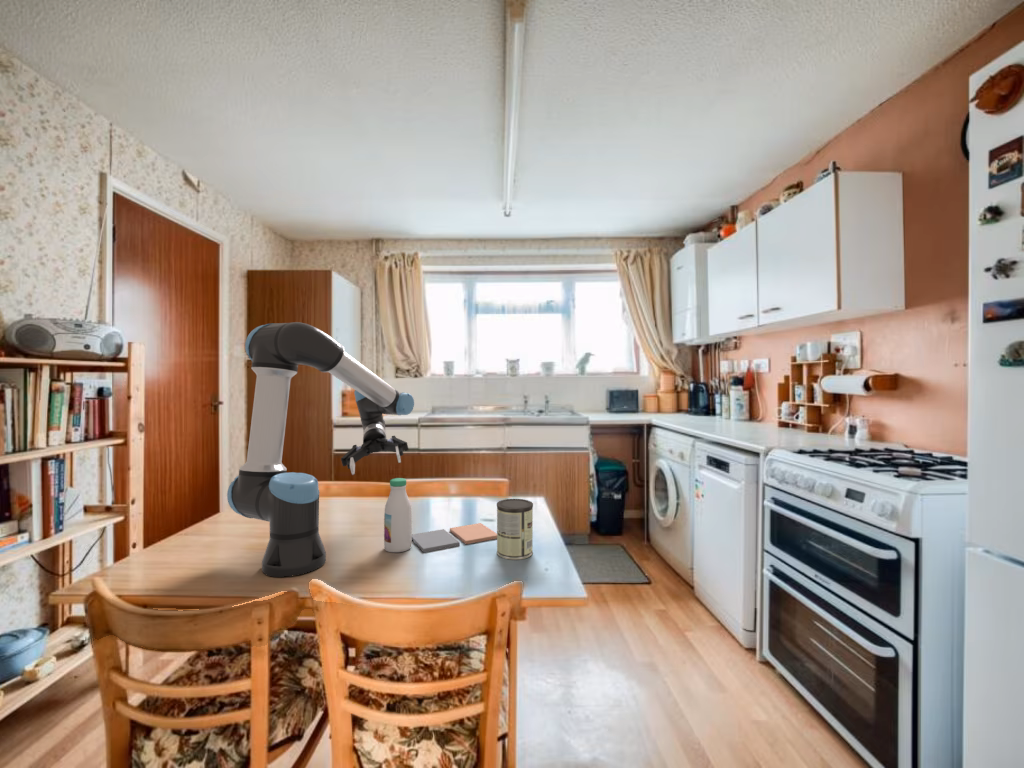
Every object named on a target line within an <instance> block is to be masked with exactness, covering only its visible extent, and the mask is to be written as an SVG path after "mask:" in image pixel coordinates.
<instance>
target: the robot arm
mask: <svg viewBox="0 0 1024 768" xmlns="http://www.w3.org/2000/svg"><path fill="white" fill-rule="evenodd" d="M244 346H245V347H244V348H245V352H246V355H248V358H249V360H251V370H252V371H253V373H255V375H256V379H255V386H254V387H255V388H254V396H253V397H254V398H253V405H252V414H251V421H250V423H251V424H250V431H249V439H248V440H249V441H248V447H247V448H248V449H247V455H246V462H245V463H244V464H243V465H241V466H240V467H239V469H238V475H237V476H236V477H235V478H234V480H232V481H231V482H230V484H229V485H228V489H227V493H226V496H227V498H226V499H227V503H228V505H229V507H230V509H231V510H232V511H233V512H234V513H236V514H237V515H239V516H240V515H241V516H243V517H245V518H248V519H254V520H255V519H256V520H259V521H264V522H269V541H268V543H267V546H266V549H265V553H264V555H263V557H262V560H261V561H262V562H261V571H262V573H263V574H264V575H265V576H267V577H269V576H270V577H273V578H274V577H276V578H285V577H284V576H290V577H293V576H292V575H297V576H299V575H298V574H301V575H304V574H303V573H305V574H308V573H311V572H314V571H316V570H318V569H320V568H321V567H323V566H324V565H325V564H326V562H325V561H327V558H326V557H327V554H326V553H327V552H326V549H325V547H324V544H323V541H322V538H321V535H320V532H319V531H320V529H319V527H320V526H319V524H320V521H319V520H320V519H319V518H320V494H321V493H320V490H319V481H318V479H317V478H316V477H315V476H314V475H312V474H308V473H305V472H294V471H292V472H287V467H286V466H285V464H283V462H282V461H283V454H284V453H283V452H284V443H285V434H286V425H287V416H288V406H289V398H290V397H289V396H290V388H291V381H292V378H293V377H295V375H297V374H298V369H299V365H301V366H307V367H312V368H314V369H316V370H318V371H319V372H320V373H329V374H330V375H332V376H333V377H335V378H336V379H338V380H339V381H341V382H343V383H344V384H345V385H347V386H348V387H350V388H351V389H353V390H354V393H353V394H354V398H355V403H356V406H357V410H358V413H359V417H360V418H359V419H360V421H361V426H362V430H363V434H362V435H363V437H362V444H361V445H360V446H358V445H357V444H354V445H352V447H351V448H350V449H349V450H348V451H347V452H346V453H345V454H344V455H343V456H342V457H341V458H340V462H341V465H342V467H346V466H347V469H348V470H349V469H350V473H351V475H352V476H354V475H355V474H356V473H355V472H356V463H357V462H359V461H360V460H361V459H363V458H364V457H368V456H369V455H371V454H373V453H379V452H381V451H382V452H387V451H388V452H394V453H396V458H397V462H398V464H399V463H400V464H401V463H402V460H401V456H403V455H404V451H405V452H406V451H409V446H408V442H407V441H405V440H402V439H400V438H397V436H396V435H392V436H391V438H389V439H388V438H387V430H386V422H385V419H384V416H383V415H392V416H393V415H394V416H408V415H409V414H411V413H412V412H413V411H414V408H415V400H414V399H415V398H414V397H413V395H412V394H411V393H408V392H400V391H398V390H397V389H396V388H394V387H393V386H391V385H390V384H389V383H387V382H386V381H385V380H383V378H381V377H379V375H377V374H376V373H374V372H373V371H371V370H370V369H369V368H368V367H366V366H365V365H364V364H362V363H361V362H359V361H358V360H357V359H356V358H354V357H353V356H351V355H350V354H349V353H347V352H346V351H345V346H343V344H342V343H340V342H339V341H338V340H336V339H335V338H333V337H332V336H331V335H329V334H328V333H326V332H324V331H323V330H321V329H320V328H317V327H315V326H313V325H311V324H308V323H305V322H304V323H303V322H299V321H295V322H282V323H281V322H279V323H278V322H277V323H266V324H262V325H259V326H256V327H255V328H254V329H252V330H251V331H250V333H249V334H248V335H247V337H246V340H245V345H244ZM323 564H324V565H323ZM322 565H323V566H322ZM319 567H320V568H319ZM317 568H318V569H317ZM315 569H316V570H315ZM313 570H314V571H313ZM310 571H311V572H310ZM307 572H308V573H307Z"/></svg>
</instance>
